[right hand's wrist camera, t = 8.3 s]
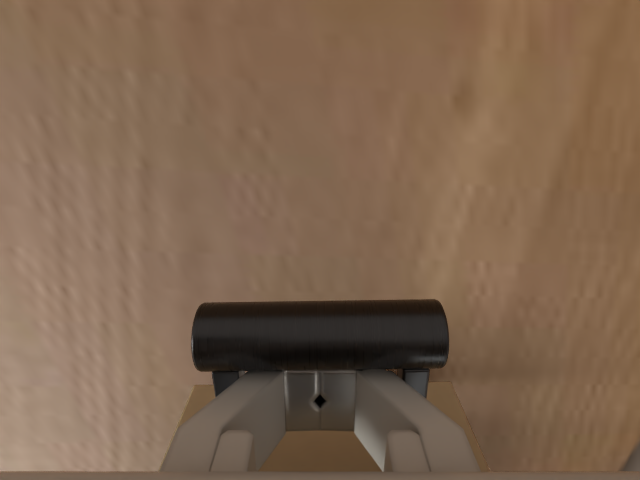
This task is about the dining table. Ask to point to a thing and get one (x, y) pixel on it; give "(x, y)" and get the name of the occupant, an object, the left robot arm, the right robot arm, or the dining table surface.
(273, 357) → the drawer
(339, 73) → the dining table surface
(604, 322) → the dining table surface
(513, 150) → the dining table surface
